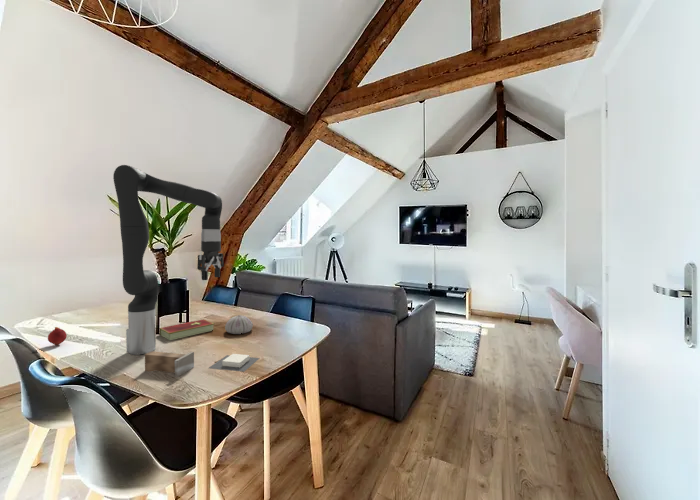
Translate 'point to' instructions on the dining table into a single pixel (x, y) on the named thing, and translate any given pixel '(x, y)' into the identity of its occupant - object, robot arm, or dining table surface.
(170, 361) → the wooden post on base
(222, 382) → the dining table surface
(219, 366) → the mat
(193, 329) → the hardcover book
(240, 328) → the sea urchin shell
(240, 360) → the tile
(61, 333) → the onion
